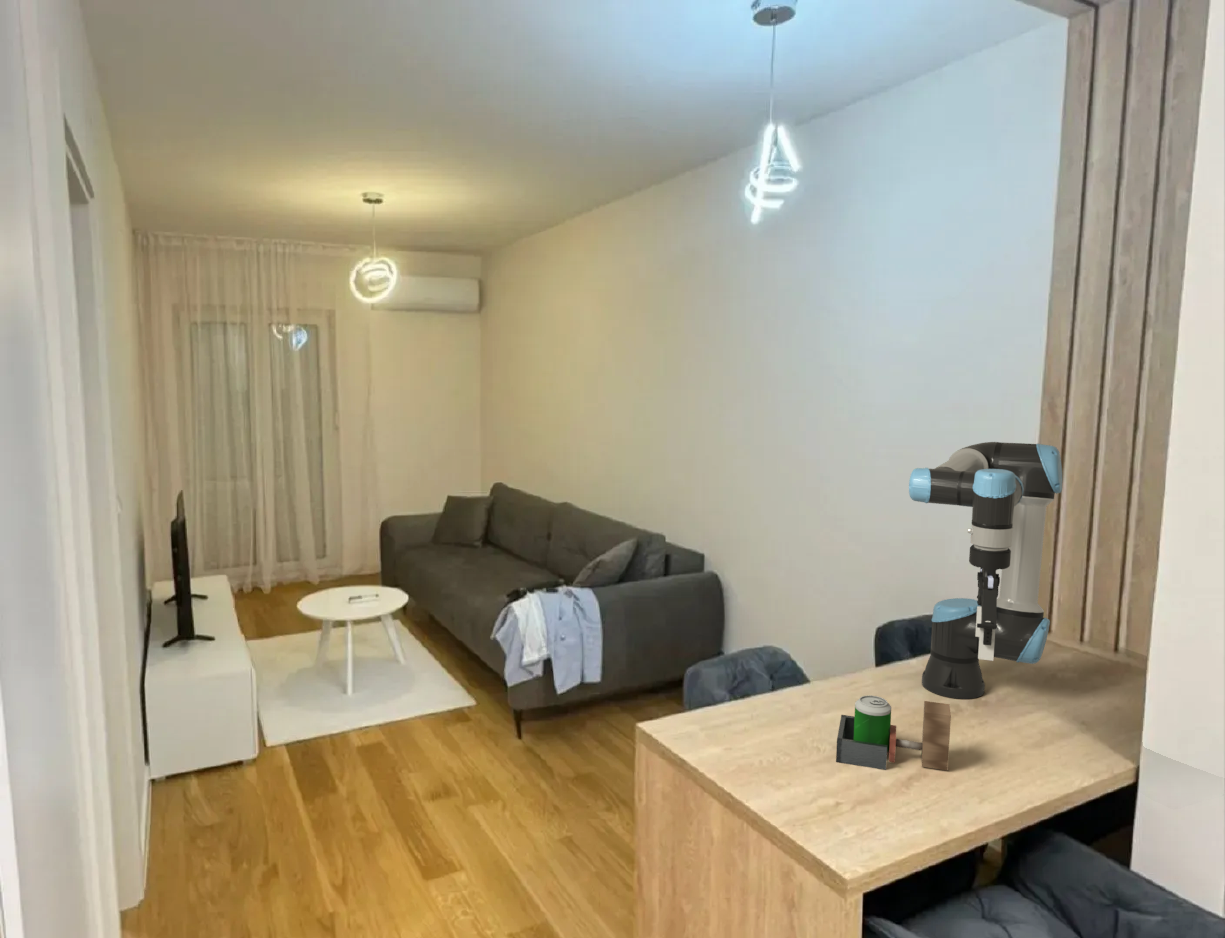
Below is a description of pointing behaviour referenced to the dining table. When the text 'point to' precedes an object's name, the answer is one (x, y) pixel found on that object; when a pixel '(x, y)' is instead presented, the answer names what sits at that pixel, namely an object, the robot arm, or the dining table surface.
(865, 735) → the soda can
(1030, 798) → the dining table surface
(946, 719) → the striker
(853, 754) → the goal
